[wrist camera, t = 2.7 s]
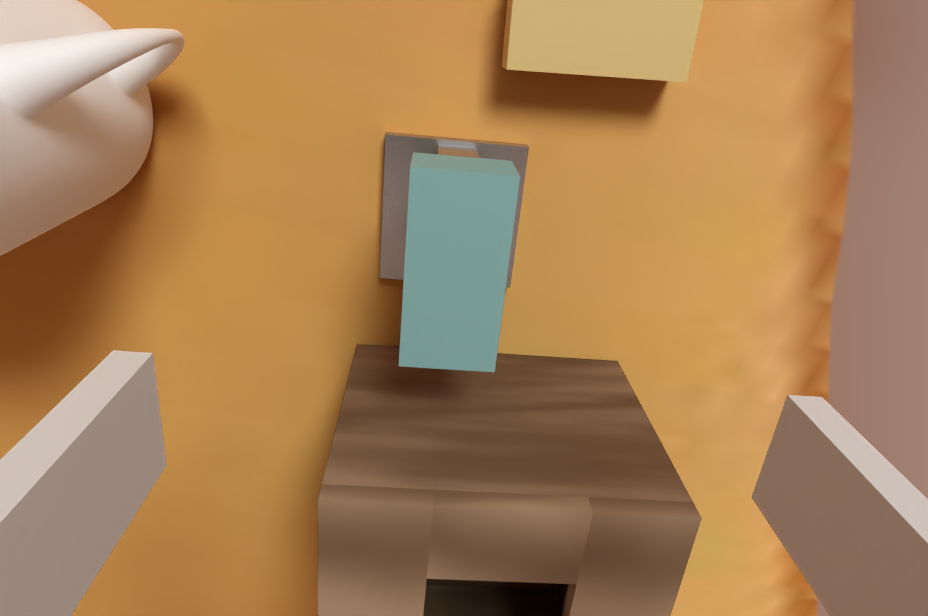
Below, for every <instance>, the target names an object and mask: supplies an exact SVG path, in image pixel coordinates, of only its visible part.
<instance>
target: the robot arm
mask: <svg viewBox="0 0 928 616" xmlns="http://www.w3.org/2000/svg"><path fill="white" fill-rule="evenodd" d="M165 467H166V457H165V449H164V441H163V432H162V424H161V416H160V408H159V399H158V391H157V383H156V375H155V366H154V358H153V353H145V352H129V351H114V350H113V351H112V352H111V353H110V354H109V355H108V356H107V357H106V358H105V359H104V360H103V361H102V362H101V363H100V364H99V365H98V366H97V367H96V368H95V369H93V370H92V371H91V372H90V373H89V374H88V375H87V376H86V377H85V378H84V379H83V380H82V381H81V382H80V383H79V384H78V385H77V386H76V387H75V388H74V389H73V390H72V391H71V392H70V393H69V394H68V395H67V396H66V397H65V398H64V399H63V400H62V401H60V402H59V403H58V404H57V405H56V406H55V407H54V408H53V409H52V410H51V411H50V412H49V413H48V414H47V415H46V416H45V417H44V418H43V419H42V420H41V421H40V422H39V423H38V424H37V425H36V426H35V427H34V428H33V429H32V430H31V431H30V432H29V433H28V434H26V435H25V436H24V437H23V438H22V439H21V440H20V441H19V442H18V443H17V444H16V445H15V446H14V447H13V448H12V449H11V450H10V451H9V452H8V453H7V454H6V455H5V456H4V457H3V458H2V459H1V460H0V616H71V615H72V613H73V612H74V610H75V609H76V607H77V605H78V604H79V602H80V601H81V599H82V598H83V596H84V594H85V593H86V591H87V590H88V588H89V587H90V585H91V583H92V582H93V580H94V579H95V577H96V575H97V574H98V572H99V571H100V569H101V568H102V566H103V564H104V563H105V561H106V560H107V558H108V557H109V555H110V553H111V552H112V550H113V549H114V547H115V546H116V544H117V542H118V541H119V539H120V538H121V536H122V535H123V533H124V531H125V530H126V528H127V527H128V525H129V524H130V522H131V520H132V519H133V517H134V516H135V514H136V513H137V511H138V509H139V508H140V506H141V505H142V503H143V502H144V500H145V498H146V497H147V495H148V494H149V492H150V491H151V489H152V487H153V486H154V484H155V483H156V481H157V480H158V478H159V476H160V475H161V473H162V472H163V470H164V469H165ZM752 499H753V500H754V502H755V503H756V505H757V506H758V508H759V509H760V511H761V512H762V514H763V515H764V517H765V518H766V520H767V522H768V523H769V525H770V526H771V528H772V529H773V531H774V532H775V534H776V535H777V537H778V538H779V540H780V541H781V543H782V544H783V546H784V547H785V549H786V550H787V552H788V553H789V555H790V556H791V558H792V559H793V561H794V562H795V564H796V565H797V567H798V568H799V570H800V571H801V573H802V574H803V576H804V578H805V579H806V581H807V582H808V584H809V585H810V587H811V588H812V590H813V591H814V593H815V594H816V596H817V597H818V599H819V600H820V601H821V603H822V605H823V606H824V608H825V609H826V611H827V612H828V614H829V615H830V616H928V499H927V498H926V497H924V495H923V494H921V493H920V492H919V491H918V490H917V489H916V488H915V487H914V486H913V485H912V484H911V483H910V482H909V481H908V480H907V479H906V478H905V477H904V476H903V475H902V474H901V473H900V472H899V471H898V470H897V469H895V467H894V466H893V465H891V463H889V462H888V461H887V460H886V459H885V458H884V457H883V456H882V455H881V454H880V453H879V452H878V451H877V450H876V449H875V448H874V447H873V446H872V445H871V444H870V443H869V442H868V441H867V440H866V439H865V438H864V437H863V436H862V435H861V434H860V433H858V432H857V431H856V430H855V429H854V428H853V427H852V426H851V425H850V424H849V423H848V422H847V421H846V420H845V419H844V418H843V417H842V416H841V415H840V414H839V413H838V412H837V411H836V410H835V409H834V408H833V407H831V405H830V404H829V403H827V402H826V401H825V400H824V399H823V398H822V397H811V396H796V395H787V398H786V401H785V404H784V407H783V409H782V412H781V415H780V418H779V421H778V424H777V426H776V429H775V432H774V435H773V438H772V441H771V444H770V446H769V449H768V452H767V455H766V458H765V461H764V463H763V466H762V469H761V472H760V475H759V478H758V481H757V483H756V486H755V489H754V492H753V495H752Z"/></svg>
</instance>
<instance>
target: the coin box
mask: <svg viewBox="0 0 928 616" xmlns="http://www.w3.org/2000/svg"><path fill="white" fill-rule="evenodd" d="M399 352H400V347H390V346H374V345H359V344H357V347H356V351H355V355H354V359H353V363H352V367H351V371H350V374H349V378H348V382H347V386H346V390H345V394H344V398H343V402H342V406H341V410H340V414H339V418H338V422H337V426H336V430H335V434H334V438H333V442H332V446H331V450H330V454H329V457H328V461H327V465H326V469H325V473H324V477H323V481H322V485H321V489H320V493H319V497H318V616H670V615H671V612H672V609H673V606H674V603H675V600H676V596H677V593H678V590H679V587H680V584H681V581H682V578H683V575H684V572H685V568H686V565H687V562H688V559H689V556H690V553H691V550H692V547H693V543H694V540H695V537H696V534H697V531H698V528H699V525H700V522H701V519H702V518H701V516H700V514H699V512H698V511H697V509H696V507H695V505H694V503H693V501H692V499H691V497H690V496H689V494H688V492H687V490H686V488H685V486H684V484H683V483H682V481H681V479H680V477H679V475H678V473H677V471H676V469H675V468H674V466H673V464H672V462H671V460H670V458H669V456H668V454H667V453H666V451H665V449H664V447H663V445H662V443H661V441H660V440H659V438H658V436H657V434H656V432H655V430H654V428H653V426H652V425H651V423H650V421H649V419H648V417H647V415H646V413H645V411H644V410H643V408H642V406H641V404H640V402H639V400H638V398H637V396H636V395H635V393H634V391H633V389H632V387H631V385H630V383H629V382H628V380H627V378H626V376H625V374H624V372H623V370H622V368H621V367H620V365H619V363H618V361H607V360H592V359H576V358H561V357H545V356H530V355H514V354H499V353H497V358H496V366H495V372H482V371H466V370H450V369H434V368H418V367H402V366H399Z"/></svg>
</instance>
